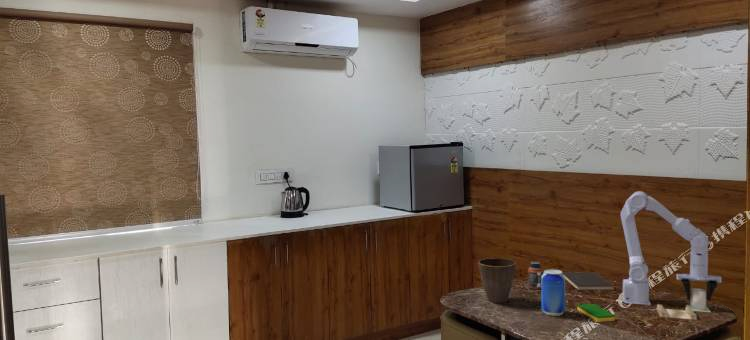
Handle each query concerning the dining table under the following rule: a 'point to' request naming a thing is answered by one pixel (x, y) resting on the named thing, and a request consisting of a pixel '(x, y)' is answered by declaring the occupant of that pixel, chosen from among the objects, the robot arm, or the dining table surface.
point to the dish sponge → (596, 312)
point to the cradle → (676, 313)
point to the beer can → (553, 292)
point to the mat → (699, 310)
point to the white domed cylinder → (698, 299)
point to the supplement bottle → (535, 276)
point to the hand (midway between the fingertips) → (698, 299)
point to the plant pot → (497, 278)
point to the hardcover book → (587, 281)
